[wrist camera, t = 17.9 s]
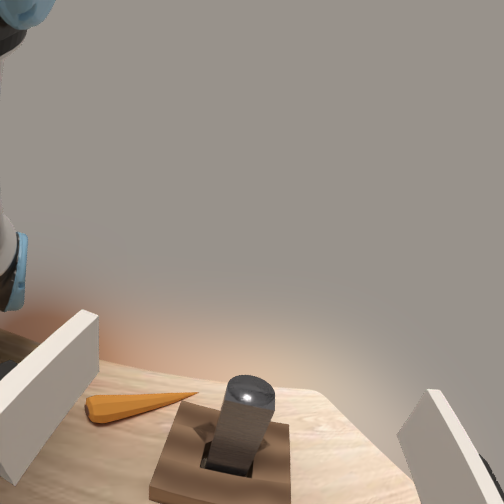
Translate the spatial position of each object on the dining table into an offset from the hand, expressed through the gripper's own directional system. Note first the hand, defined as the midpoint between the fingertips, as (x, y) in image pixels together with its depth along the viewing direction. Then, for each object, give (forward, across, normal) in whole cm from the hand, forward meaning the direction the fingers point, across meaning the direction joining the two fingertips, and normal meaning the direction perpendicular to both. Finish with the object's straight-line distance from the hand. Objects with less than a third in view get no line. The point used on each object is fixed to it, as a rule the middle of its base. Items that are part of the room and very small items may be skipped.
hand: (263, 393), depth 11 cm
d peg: (+16, +2, -30) cm, 34 cm away
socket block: (+17, +2, -30) cm, 34 cm away
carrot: (+24, -11, -30) cm, 41 cm away
